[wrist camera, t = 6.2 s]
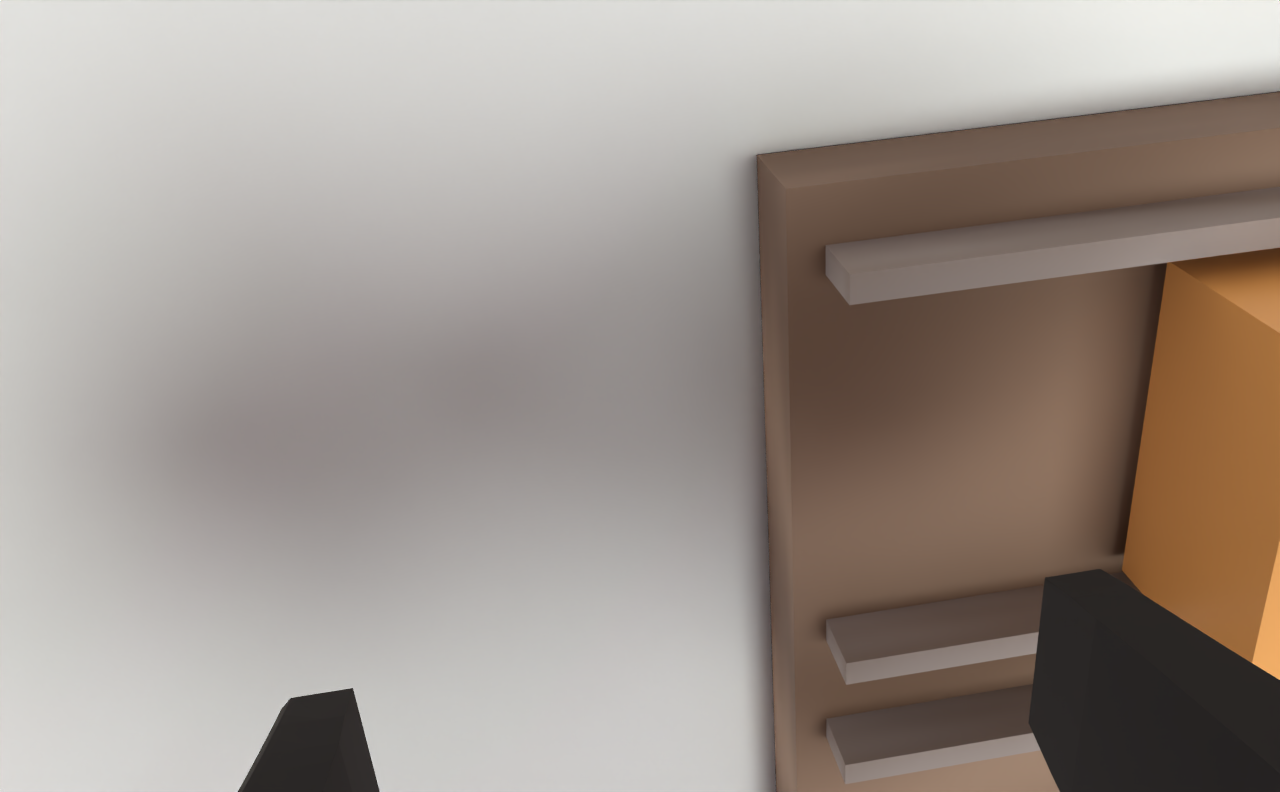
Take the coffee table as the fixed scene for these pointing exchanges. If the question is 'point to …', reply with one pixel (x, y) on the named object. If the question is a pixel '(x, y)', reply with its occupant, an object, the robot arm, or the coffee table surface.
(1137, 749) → the robot arm
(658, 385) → the coffee table surface
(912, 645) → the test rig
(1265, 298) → the orange slider
